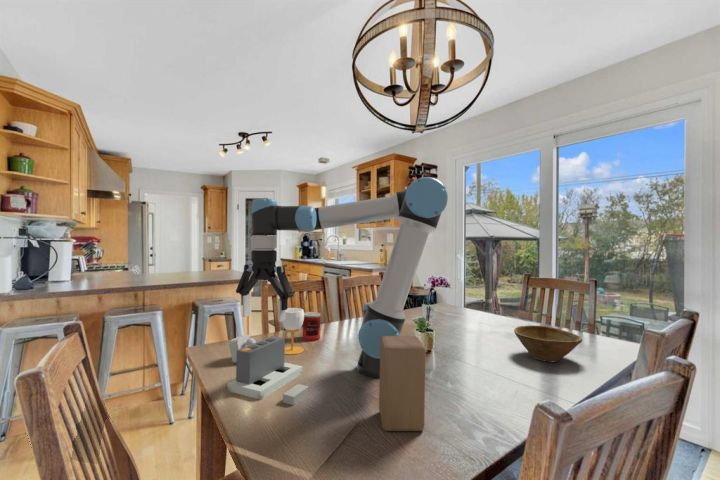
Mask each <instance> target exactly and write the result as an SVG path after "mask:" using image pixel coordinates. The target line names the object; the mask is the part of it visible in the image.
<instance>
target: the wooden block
mask: <svg viewBox="0 0 720 480" xmlns="http://www.w3.org/2000/svg"><path fill="white" fill-rule="evenodd" d="M426 352H427V351H426V347H425V346H424V344H423V343H422V341H421V340H420V338H419V337H418V336H416V335H400V336H382V337H381V339H380V378H379V384H378V385H379V386H378V387H379V388H378V389H379V393H378V394H379V395H378V397H379V398H378V399H379V400H378V410H379V417H380V421H381V427H382V429H383V431H386V432H422V431H423V430H424V429H425V413H426V412H425V411H426V410H425V408H426V406H425V405H426V362H427V361H426V358H427V357H426V356H427V353H426Z"/></svg>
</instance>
